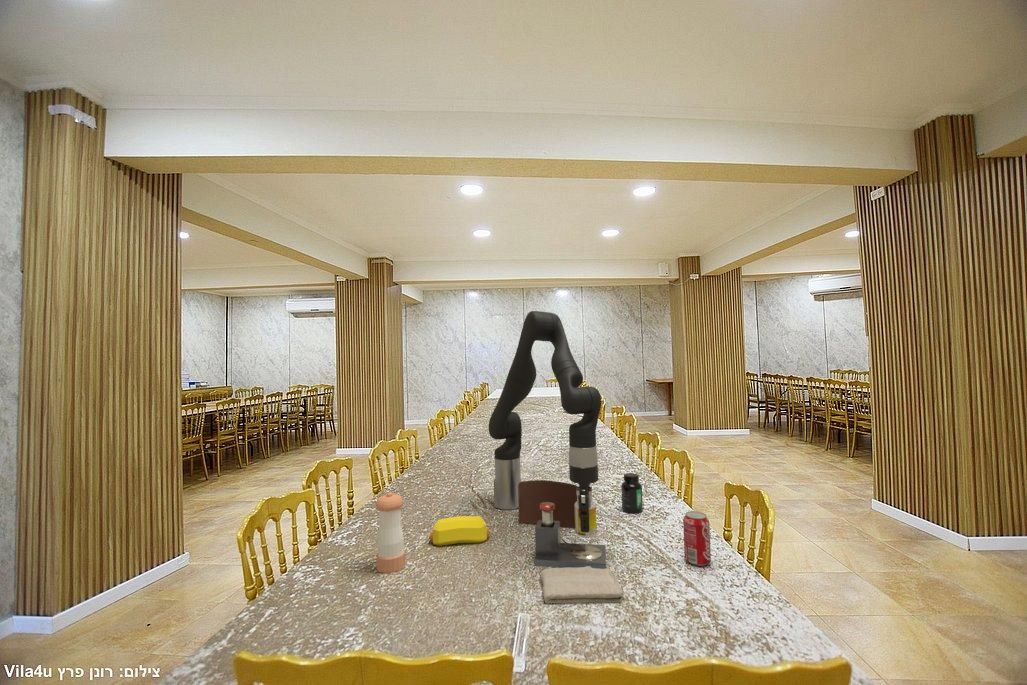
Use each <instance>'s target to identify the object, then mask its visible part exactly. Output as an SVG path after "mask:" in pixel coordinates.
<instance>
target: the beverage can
mask: <svg viewBox="0 0 1027 685" xmlns="http://www.w3.org/2000/svg"><path fill="white" fill-rule="evenodd" d="M709 520H710V519H708V517H707V514H706V513H705V512H704V513H703V512H702V511H695V510H693V511H691V510H690V511H686V512H685V513H684V517H683V519H682V521H683V523H682V524H683V527H682V528H683V547H684V548H683V549H684V552H683V553H684V560H686V561H687V562H689V563H690V564H692V565H694V566H699V567H700V566H701V567H702V566H706V565H707V564H710V563H711V562H712V556H711V554H712V553H711V551H712V550H711V531H710V529H711V528H710V527H711V525H710V524H711V523H710V521H709Z"/></svg>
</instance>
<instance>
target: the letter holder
mask: <svg viewBox="0 0 1027 685" xmlns="http://www.w3.org/2000/svg"><path fill="white" fill-rule="evenodd" d="M577 486H578V485H576V484H575V483H568V482H563V481H555V480H535V479H534V480H523V481H522V480H521V482H520V483H519V484H518V503H519V508H518V523H519V524H524V525H525V524H526V525H527V524H528V525H536V524H537V522H538V520H542V510H541V509H540V503H543V502H551V503H554V504H555V509H554V510H553V521H560V528H568V529H575V507H574V505H575V502H577V494H576V489H577Z"/></svg>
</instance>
